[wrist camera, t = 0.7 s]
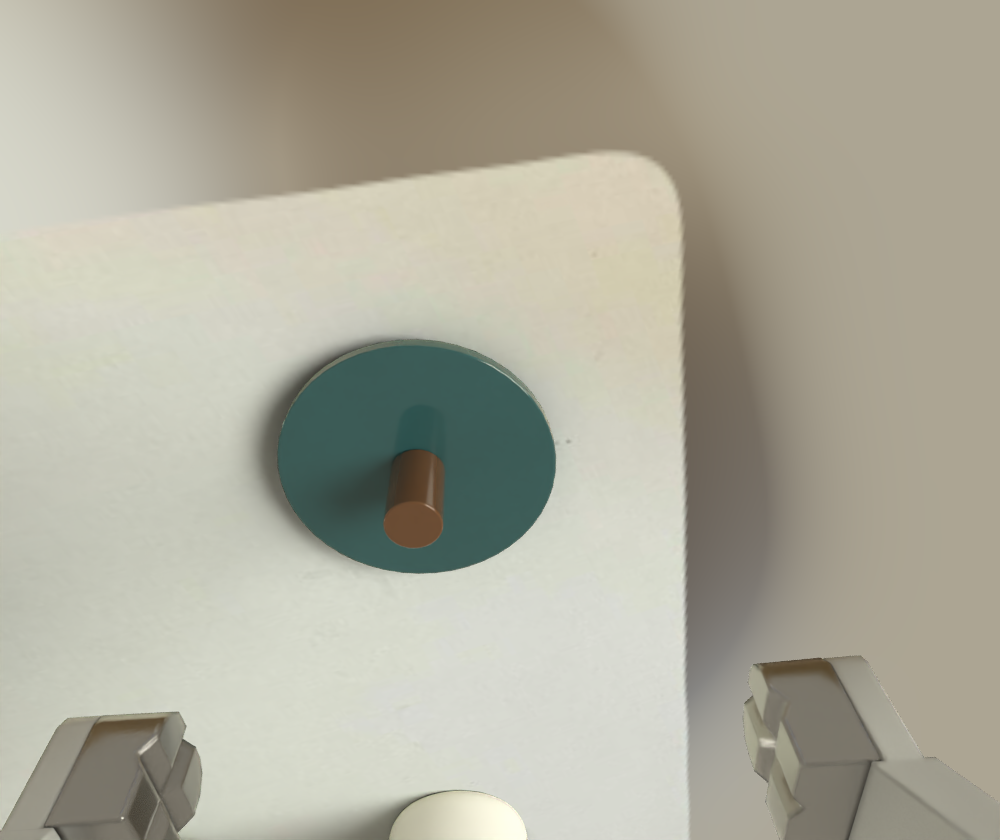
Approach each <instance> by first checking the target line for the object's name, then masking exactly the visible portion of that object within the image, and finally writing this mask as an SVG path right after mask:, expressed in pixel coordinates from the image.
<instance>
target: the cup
mask: <svg viewBox="0 0 1000 840" xmlns="http://www.w3.org/2000/svg"><path fill="white" fill-rule="evenodd" d="M389 840H527V834H526V829H525V826H524V823H523V821H522V819H521V817H520V816H519V814H518V813H517V812H516V811H515V809H514V808H513V807H511V806H510V805H509V804H508V803H506V802H505V801H503V800H501V799H499V798H497V797H494V796H492V795H488V794H484V793H480V792H473V791H448V792H442V793H437V794H433V795H429V796H426V797H424V798H421V799H419V800H417V801H415V802H414V803H412V804H410V805H409V806H408V807H406V808H405V809H404V810H403V811H402V812H401V814H400V815H399V816H398V817H397V819H396V821H395V822H394V824H393V827H392V829H391V833H390V837H389Z"/></svg>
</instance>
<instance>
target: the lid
mask: <svg viewBox="0 0 1000 840" xmlns="http://www.w3.org/2000/svg"><path fill="white" fill-rule="evenodd" d="M277 461H278V471H279V476H280V480H281V484H282V487H283V489H284V492H285V495H286V497H287V499H288V501H289V503H290V505H291V506H292V508H293V510H294V512H295V513H296V514H297V516H298V517H299V518H300V520H301V521H302V522H303V523H304V524H305V526H306V527H307V528H308V529H309V530H310V531H311V532H312V533H313V534H314V535H315V536H317V537H318V538H319V539H320V540H322V541H323V542H324V543H325V544H327V545H328V546H330V547H331V548H333V549H334V550H336V551H338V552H339V553H341V554H343V555H345V556H347V557H349V558H351V559H353V560H355V561H358V562H361V563H363V564H366V565H369V566H372V567H376V568H380V569H384V570H389V571H395V572H402V573H417V574H421V573H439V572H446V571H452V570H457V569H461V568H465V567H468V566H471V565H474V564H477V563H480V562H482V561H485V560H487V559H489V558H491V557H493V556H495V555H497V554H499V553H500V552H502V551H503V550H505V549H506V548H508V547H510V546H511V545H512V544H513V543H515V542H516V541H517V540H518V539H520V538H521V537H522V536H523V535H524V534H525V533H526V532H527V531H528V530H529V529H530V528H531V526H532V525H533V524H534V523H535V521H536V520H537V518H538V517H539V516H540V514H541V513H542V511H543V509H544V507H545V505H546V503H547V501H548V499H549V496H550V493H551V490H552V488H553V483H554V478H555V472H556V454H555V446H554V440H553V435H552V432H551V428H550V425H549V422H548V419H547V417H546V415H545V413H544V411H543V409H542V407H541V405H540V404H539V402H538V401H537V399H536V398H535V396H534V395H533V393H532V392H531V391H530V390H529V389H528V388H527V387H526V386H525V385H524V383H523V382H522V381H521V380H520V379H518V378H517V377H516V376H515V375H514V374H512V373H511V372H510V371H509V370H508V369H506V368H505V367H503V366H502V365H500V364H498V363H497V362H495V361H494V360H492V359H490V358H488V357H486V356H484V355H482V354H480V353H478V352H476V351H473V350H470V349H467V348H464V347H461V346H458V345H454V344H449V343H444V342H439V341H431V340H419V339H414V340H395V341H389V342H382V343H377V344H374V345H370V346H366V347H363V348H360V349H357V350H355V351H353V352H350V353H348V354H345V355H343V356H341V357H340V358H338V359H336V360H335V361H333V362H331V363H329V364H328V365H326V366H325V367H324V368H323V369H321V370H320V371H319V372H318V373H316V374H315V375H314V376H313V377H312V378H311V379H310V380H309V381H308V382H307V383H306V384H305V385H304V386H303V387H302V389H301V390H300V391H299V393H298V394H297V396H296V397H295V399H294V400H293V402H292V404H291V406H290V408H289V410H288V412H287V414H286V416H285V419H284V421H283V425H282V428H281V432H280V435H279V441H278V449H277Z"/></svg>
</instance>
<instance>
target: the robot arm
mask: <svg viewBox="0 0 1000 840" xmlns="http://www.w3.org/2000/svg"><path fill="white" fill-rule="evenodd" d="M748 684H749V687H750V689H751V692H752V697H750V698H749V699H748V700H747V701H746V702H745V703H744V712H743V726H744V736H745V741H746V746H747V749H748V754H749V757H750V760H751V763H752V765H753V768H754V771H755V772H756V773H757V774H758V775H760V776H761V777H762V778H763V779H764V780H766V781H767V782H768V789H767V795H766V801H765V802H766V805H767V807H768V810H769V812H770V815H771V818H772V821H773V824H774V826H775V829H776V832H777V835H778V837H779V840H1000V803H999V802H998V801H997V800H995V799H994V798H992V797H991V796H989V795H988V794H987V793H985V792H984V791H982V790H981V789H980V788H978V787H977V786H975V785H974V784H973V783H971V782H970V781H968V780H967V779H965V778H964V777H963V776H961V775H960V774H958V773H957V772H956V771H954V770H953V769H951V768H950V767H949V766H947V765H946V764H944V763H943V762H941V761H940V760H939V759H937V758H936V757H928V758H924V756H923V755H922V753H921V751H920V750H919V748H918V746H917V745H916V743H915V741H914V739H913V738H912V736H911V734H910V733H909V731H908V729H907V728H906V726H905V724H904V722H903V721H902V719H901V718H900V716H899V714H898V712H897V711H896V709H895V707H894V705H893V704H892V702H891V701H890V699H889V697H888V695H887V694H886V692H885V690H884V688H883V687H882V685H881V683H880V682H879V680H878V679H877V677H876V675H875V673H874V671H873V670H872V668H871V666H870V665H869V663H868V661H867V660H865V659H864V658H863V657H862V656H846V657H834V658H824V659H822V658H813V659H802V660H792V661H781V662H772V663H771V662H770V663H760V664H753V666H752V667H751V668H750V671H749V676H748ZM185 729H186V725H185V723H184V721H183V719H182V717H181V715H180V713H179V712H160V713H141V714H122V715H103V716H90V717H75V718H67V719H66V720H65V721H64V722H63V723H62V724H61V725H60V726H58V727H57V729H56V730H55V732H54V734H53V736H52V738H51V739H50V741H49V743H48V745H47V747H46V749H45V751H44V752H43V754H42V756H41V758H40V760H39V762H38V764H37V765H36V767H35V769H34V771H33V773H32V775H31V776H30V778H29V780H28V782H27V784H26V786H25V788H24V789H23V791H22V793H21V795H20V797H19V799H18V801H17V802H16V804H15V806H14V808H13V810H12V812H11V814H10V815H9V817H8V819H7V821H6V823H5V825H4V827H3V828H2V830H1V831H0V840H181V839H180V836H179V834H178V832H179V831H180V830H181V829H182V828H183V827H184V826H185V825H186V824H187V823H188V822H189V820H190V819H191V818H192V817H193V816H194V814H195V811H196V808H197V804H198V801H199V798H200V792H201V782H202V768H201V761H200V757H199V754H198V752H197V749H196V747H195V746H193V745H192V744H190V743H189V742H187V741H185V740H184V739H182V738H183V735H184V732H185Z"/></svg>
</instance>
